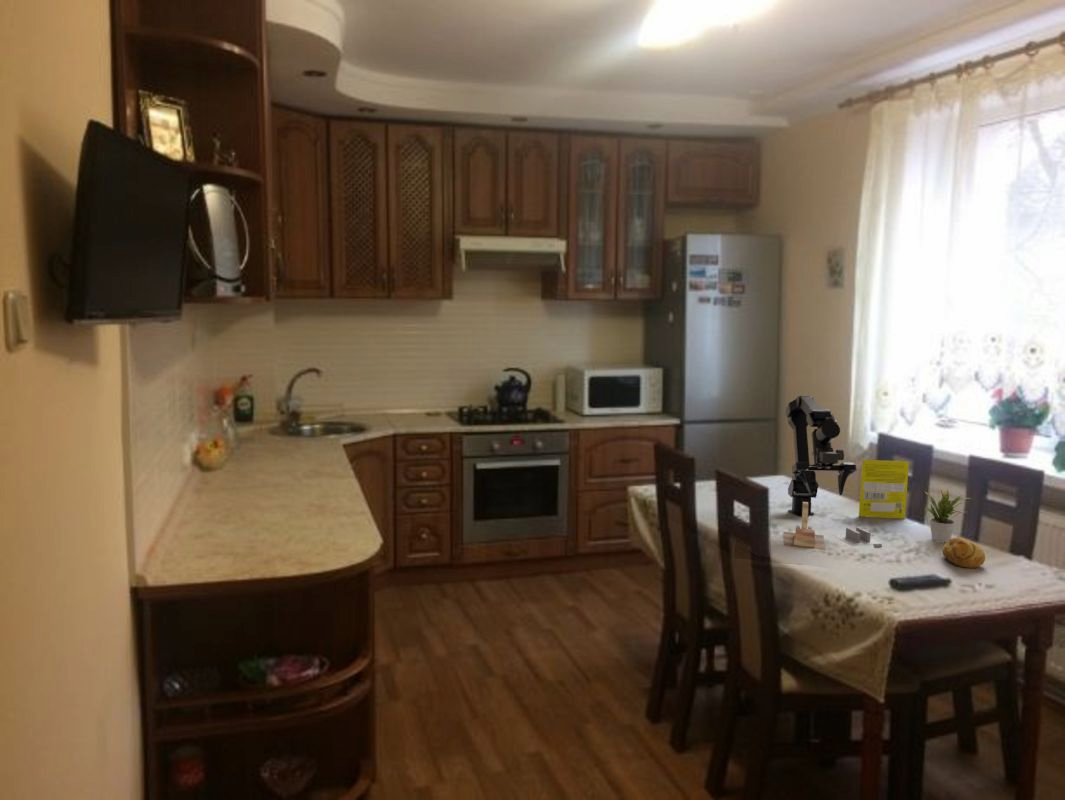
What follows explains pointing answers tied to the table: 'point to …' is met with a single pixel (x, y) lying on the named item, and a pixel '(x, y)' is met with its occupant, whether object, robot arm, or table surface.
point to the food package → (883, 488)
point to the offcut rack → (790, 542)
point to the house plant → (943, 517)
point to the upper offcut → (805, 533)
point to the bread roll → (963, 553)
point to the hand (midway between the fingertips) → (826, 494)
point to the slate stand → (858, 537)
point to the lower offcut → (804, 542)
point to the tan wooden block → (804, 515)
